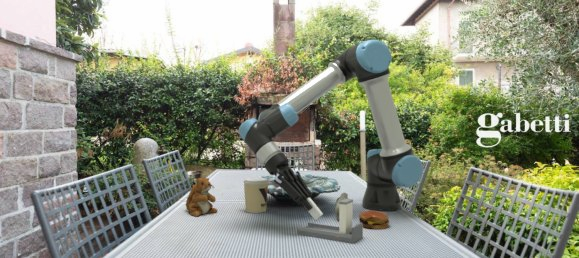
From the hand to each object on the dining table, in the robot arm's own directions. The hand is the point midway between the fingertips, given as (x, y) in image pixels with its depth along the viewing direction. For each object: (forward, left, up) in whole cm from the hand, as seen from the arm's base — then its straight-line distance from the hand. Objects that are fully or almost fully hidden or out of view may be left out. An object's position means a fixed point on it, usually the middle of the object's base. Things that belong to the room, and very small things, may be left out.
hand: (319, 217), depth 128 cm
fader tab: (-7, +6, -4) cm, 9 cm away
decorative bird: (-14, -22, -6) cm, 26 cm away
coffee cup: (+16, -35, -5) cm, 39 cm away
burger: (-20, -7, -6) cm, 22 cm away
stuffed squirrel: (+37, -36, -6) cm, 52 cm away
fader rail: (-3, +2, -5) cm, 6 cm away
